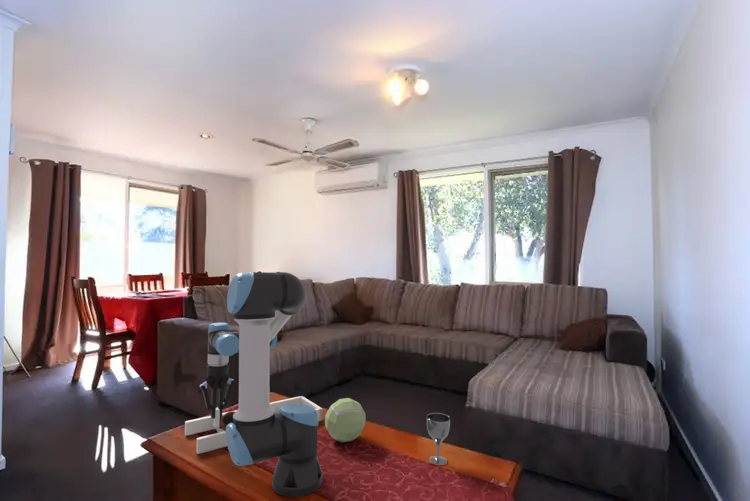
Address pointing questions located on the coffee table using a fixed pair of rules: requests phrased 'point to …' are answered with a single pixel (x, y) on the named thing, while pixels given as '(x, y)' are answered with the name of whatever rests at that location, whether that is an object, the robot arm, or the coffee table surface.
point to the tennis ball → (345, 420)
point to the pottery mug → (226, 420)
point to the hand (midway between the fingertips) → (216, 425)
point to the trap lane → (220, 438)
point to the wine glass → (438, 433)
